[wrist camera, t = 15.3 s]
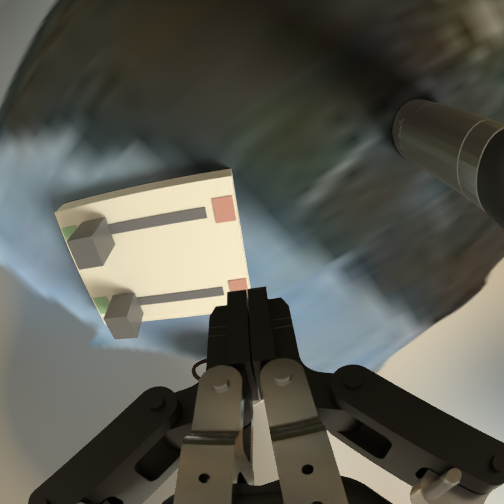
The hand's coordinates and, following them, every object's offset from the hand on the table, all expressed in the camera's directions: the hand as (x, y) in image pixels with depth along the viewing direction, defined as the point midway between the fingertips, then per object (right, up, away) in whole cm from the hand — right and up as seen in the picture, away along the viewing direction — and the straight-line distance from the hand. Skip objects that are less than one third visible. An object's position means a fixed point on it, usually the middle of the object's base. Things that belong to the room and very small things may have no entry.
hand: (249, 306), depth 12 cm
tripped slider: (-20, +5, +25) cm, 32 cm away
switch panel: (-13, +2, +31) cm, 34 cm away
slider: (-18, -6, +31) cm, 36 cm away
